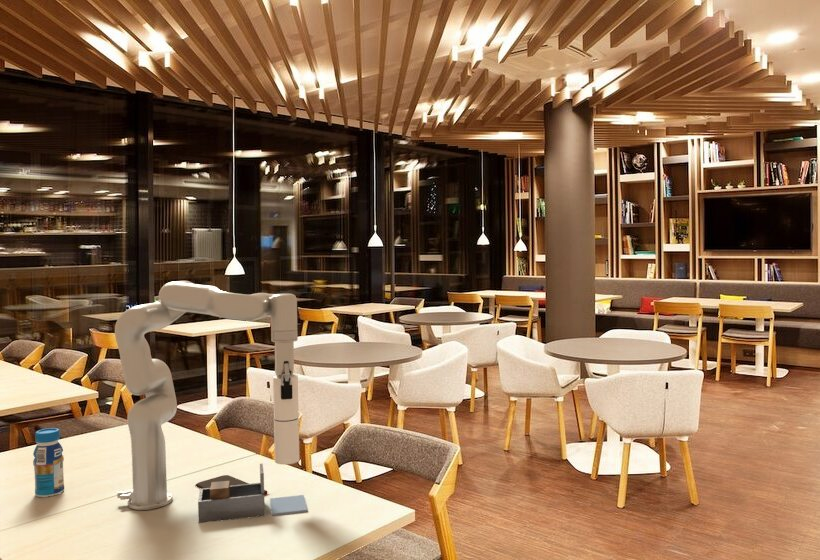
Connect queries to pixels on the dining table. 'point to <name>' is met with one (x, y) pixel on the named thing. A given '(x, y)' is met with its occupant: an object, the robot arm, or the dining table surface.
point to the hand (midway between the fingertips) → (285, 395)
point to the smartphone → (222, 478)
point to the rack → (233, 502)
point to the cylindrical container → (286, 423)
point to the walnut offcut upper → (220, 490)
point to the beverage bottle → (48, 463)
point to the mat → (288, 505)
